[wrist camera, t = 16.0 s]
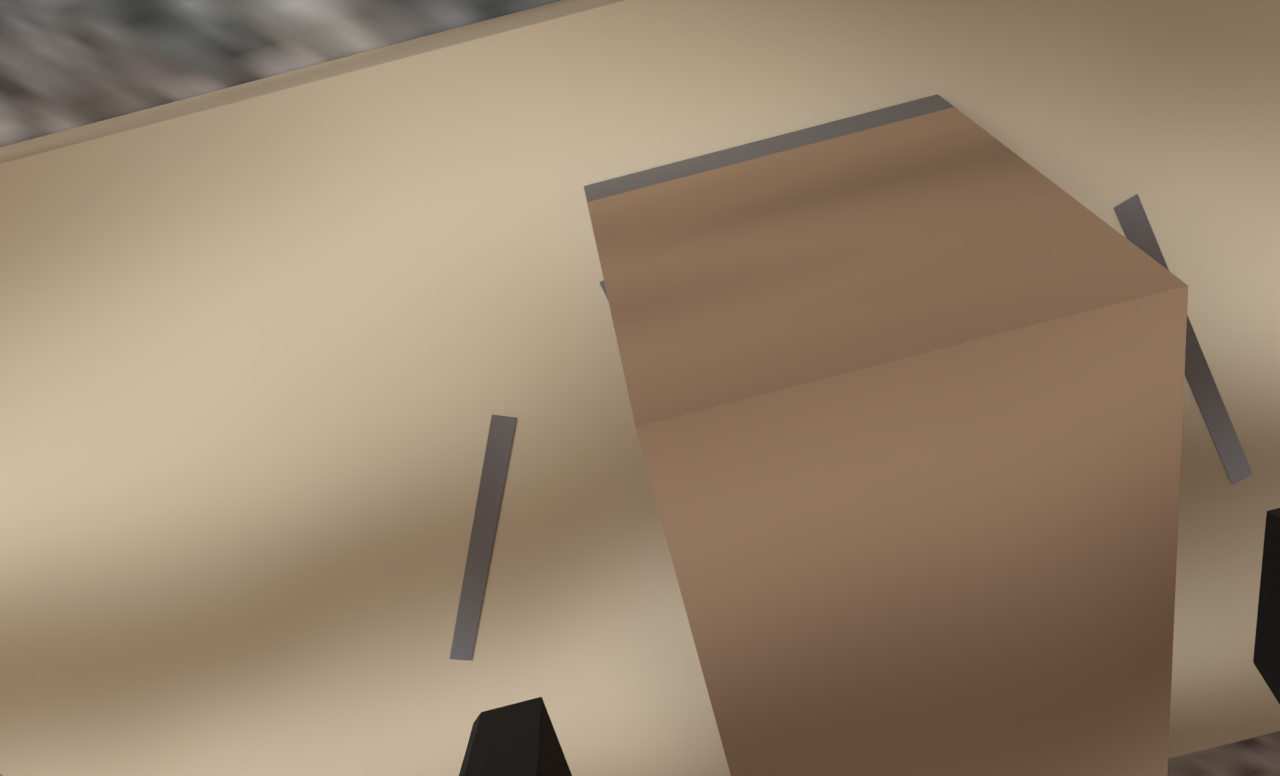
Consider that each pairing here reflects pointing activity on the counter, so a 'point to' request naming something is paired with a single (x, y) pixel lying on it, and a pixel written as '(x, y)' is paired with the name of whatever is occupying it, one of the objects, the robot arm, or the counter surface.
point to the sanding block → (906, 449)
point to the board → (523, 371)
